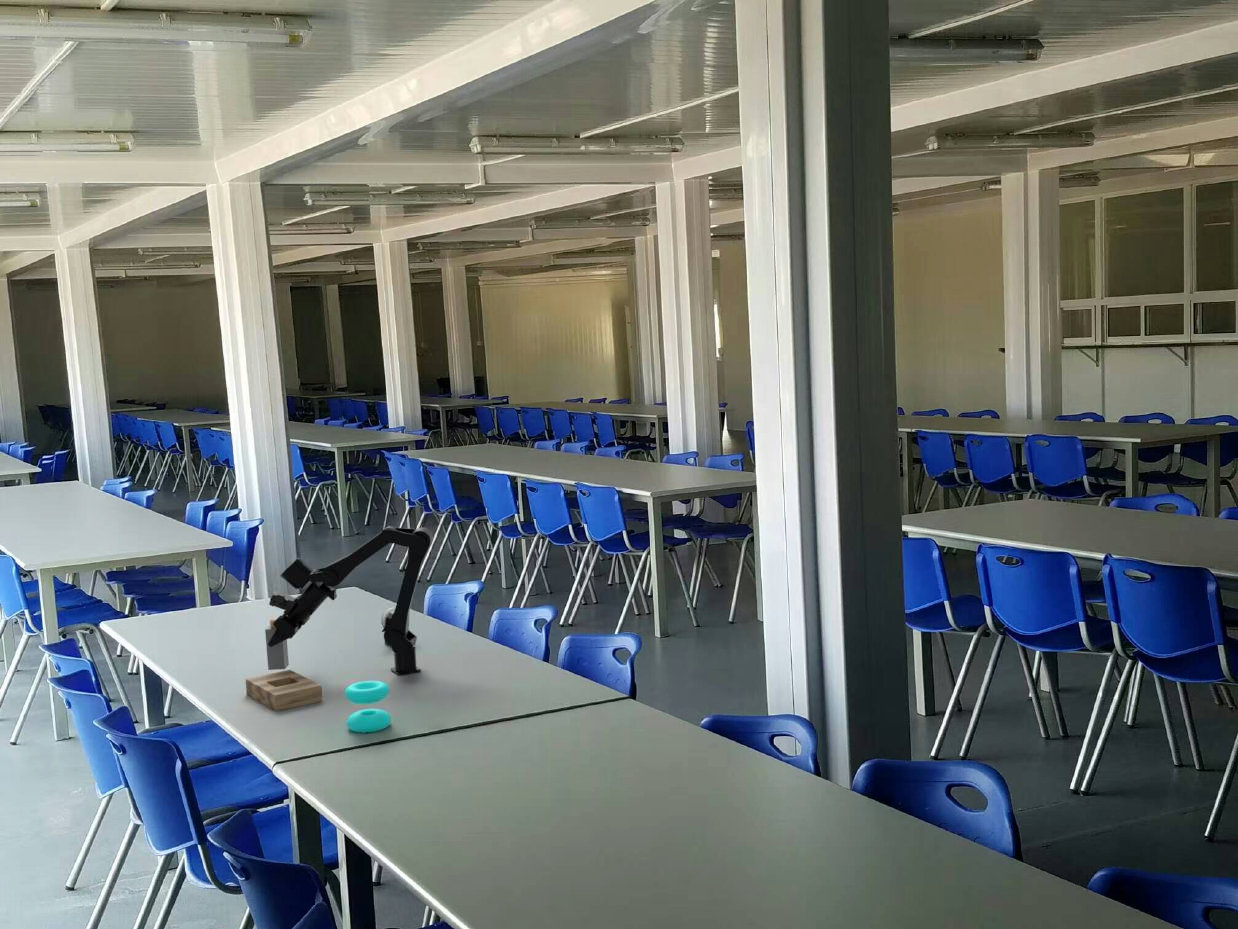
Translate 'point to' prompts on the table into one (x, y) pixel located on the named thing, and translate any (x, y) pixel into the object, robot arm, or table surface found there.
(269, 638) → the gray square post
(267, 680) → the wooden block with hole
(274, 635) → the robot arm
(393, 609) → the watch
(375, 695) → the donuts
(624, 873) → the table surface
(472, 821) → the table surface
